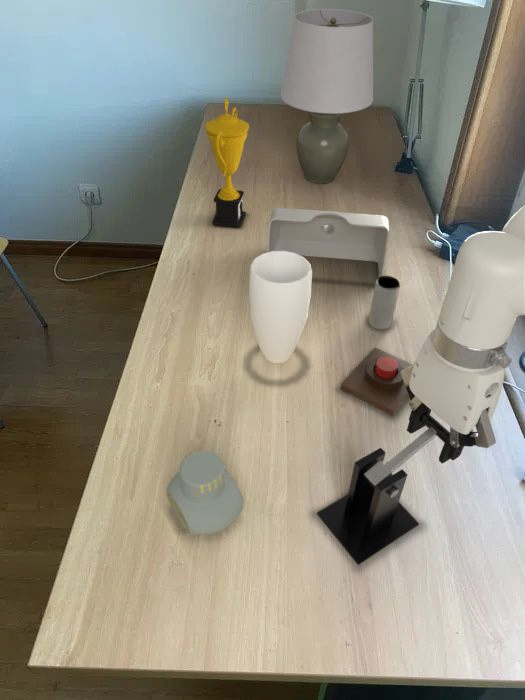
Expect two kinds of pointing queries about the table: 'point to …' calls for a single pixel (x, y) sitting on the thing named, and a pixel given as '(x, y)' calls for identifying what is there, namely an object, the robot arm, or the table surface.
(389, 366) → the button
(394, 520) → the black stand
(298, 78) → the lamp
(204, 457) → the air freshener
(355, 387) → the button block
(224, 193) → the trophy
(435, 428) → the lever
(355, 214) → the tank
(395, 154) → the table surface
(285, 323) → the cup
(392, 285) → the grey cylinder
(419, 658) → the table surface
